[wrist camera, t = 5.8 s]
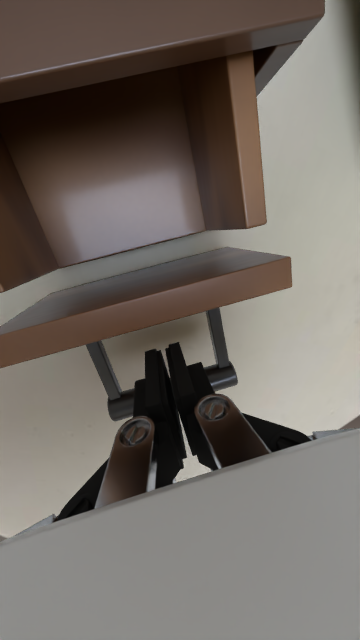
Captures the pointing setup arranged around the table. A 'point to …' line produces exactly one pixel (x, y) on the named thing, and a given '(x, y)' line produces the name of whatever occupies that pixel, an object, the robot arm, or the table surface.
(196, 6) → the cabinet
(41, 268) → the drawer
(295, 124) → the table surface
